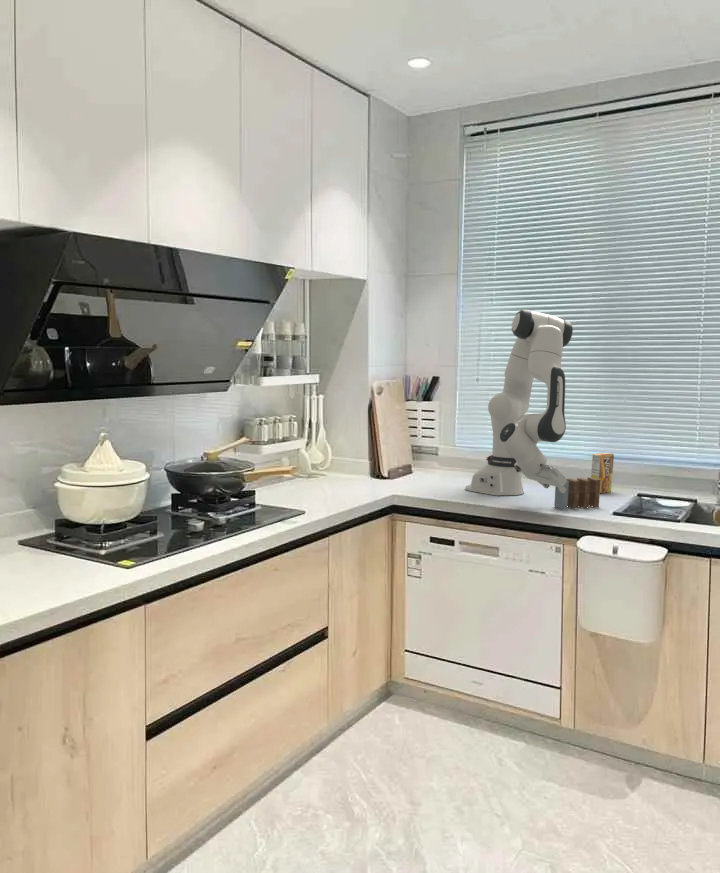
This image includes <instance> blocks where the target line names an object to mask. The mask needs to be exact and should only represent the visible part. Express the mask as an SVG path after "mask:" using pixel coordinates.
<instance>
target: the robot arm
mask: <svg viewBox="0 0 720 873" xmlns="http://www.w3.org/2000/svg"><path fill="white" fill-rule="evenodd" d="M572 324H573V323H572V322H570V321H568V320H566V319H564V318H560V317H557V316H554V315H551V314H548V313H544V312H543V313H542V312H538V311H531V310H529V309H521V310H519V311H518V312H516V314H515V315H514V317H513V320H512V322H511V332H512V333H513V336H515V337H516V339H515V342H514V344H513V346H512V349H511V353H510V355H509V358H508V361H507V364H506V368H505V370H504V382H503V383H504V384H503V389H502V392H498V393H497V394H495V395H493V397H492V398H491V399H490V400H489V402H488V405H487V410H488V413H489V416H490V420H491V428H492V451H491V452H492V454H490V455H489V456H487V457H486V459H485V461H487V464H485V465H484V466H483V467H481V468H479V470H477V471H476V472H475V473H473V476H472V478H471V483H470V484H468V485H466V486H465V489H464V490H465V491H470V492H473V493H474V492H475V493H481V494H484V495H485V494H486V495H492V496H517V495H518V496H519V495H523V494H524V493H525V491H524V487H523V481H522V474H523V476H524V477H526V478H527V479H529V480H532V481H535V482H537V483H538V484H540V485H542V487H543V488H544V489H549V487H550V486H553V487H554V488H555V487H558V488H559V489H558V490H559V491H560V492H561V493H565V491H566V489H565V487H564V485H565V484H566V483H567V479H568V478H566V476H565V475H564V474H563V473H562V472H561V471H560V470H559V469H558V468H557V467H556V466H554V465H549V464H547V462H548V460H547V457H546V456H545V454H543V452H542V451H541V450H540V448H539V447H538V446H537V445H538V443H539V442H541V443H542V442H545V443H546V442H547V443H556V442H558V441H560V440H562V438H563V436H564V434H565V432H566V428H567V424H566V423H567V422H566V418H565V417H566V416H565V415H566V414H565V407H566V406H565V402H566V401H565V400H566V375H565V372H564V370H563V369H562V357H563V350H564V347H566V346H567V345H569V343H570V342H571V340H572V337H573V332H574V328H573V325H572ZM535 379H536V380H538V381H539V382H542V383H544V384H545V386H546V389H547V391H546V392H547V393H546V394H547V397H546V409H545V410H544V411H543V412H542V413H541V412H540V413H528V414H526V413H527V412H528V410H529V407H530V399H531V394H532V389H533V387H532V386H533V382H534V380H535Z"/></svg>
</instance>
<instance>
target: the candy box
mask: <svg viewBox="0 0 720 873" xmlns="http://www.w3.org/2000/svg"><path fill="white" fill-rule="evenodd" d="M614 459H615V454H614V453H611V452H601V453H593V454H592V458H591V472H590V474H591V476H590V477H592V478H595V479H599V480H600V493H601V494H605V492H607V493H611V492H612V487H613V473H614ZM610 491H611V492H610Z"/></svg>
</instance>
